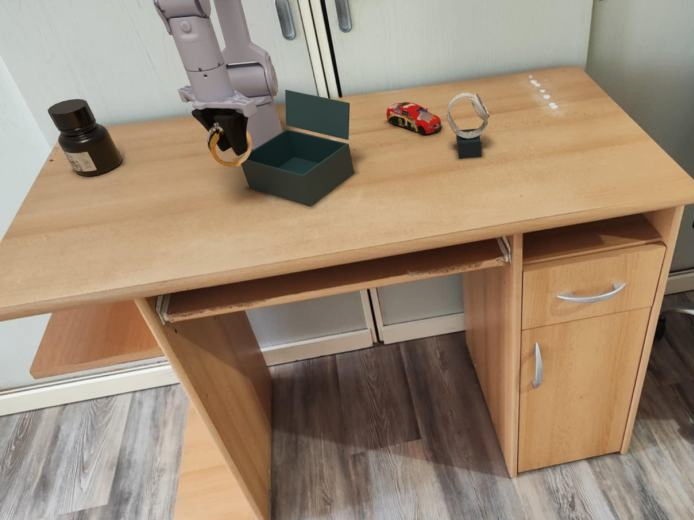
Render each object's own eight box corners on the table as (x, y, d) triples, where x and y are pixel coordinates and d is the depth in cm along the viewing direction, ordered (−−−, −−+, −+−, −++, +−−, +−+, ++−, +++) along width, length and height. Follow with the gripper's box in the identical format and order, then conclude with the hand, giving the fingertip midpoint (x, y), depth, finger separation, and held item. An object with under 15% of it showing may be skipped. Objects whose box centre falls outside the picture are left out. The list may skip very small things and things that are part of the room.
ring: (252, 154, 99) (238, 109, 93) (260, 161, 97) (246, 116, 92) (214, 168, 96) (196, 122, 91) (221, 176, 95) (204, 129, 89)
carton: (294, 157, 114) (286, 128, 110) (354, 173, 109) (348, 143, 105) (249, 188, 107) (238, 158, 103) (311, 206, 101) (302, 176, 97)
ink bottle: (67, 167, 116) (33, 107, 107) (110, 150, 120) (80, 92, 112) (87, 182, 111) (52, 121, 103) (131, 164, 115) (101, 104, 107)
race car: (446, 128, 120) (445, 109, 117) (429, 138, 117) (427, 119, 115) (401, 113, 126) (399, 94, 124) (383, 122, 124) (381, 103, 121)
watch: (491, 156, 111) (491, 98, 103) (449, 159, 111) (446, 102, 103) (488, 142, 115) (487, 86, 107) (447, 145, 115) (444, 89, 107)
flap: (285, 125, 110) (287, 125, 110) (347, 140, 104) (348, 139, 104) (285, 89, 107) (286, 89, 107) (348, 102, 101) (350, 102, 101)
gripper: (149, 67, 86) (184, 152, 95) (219, 81, 80) (249, 171, 90) (186, 51, 90) (216, 134, 100) (255, 64, 85) (279, 151, 94)
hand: (234, 150), depth 95 cm, fingers closed on ring, 3 cm apart
